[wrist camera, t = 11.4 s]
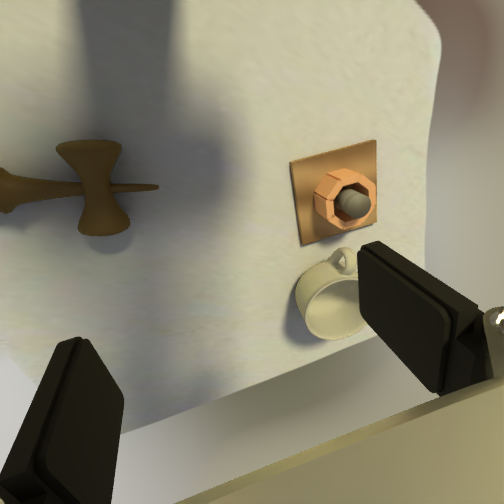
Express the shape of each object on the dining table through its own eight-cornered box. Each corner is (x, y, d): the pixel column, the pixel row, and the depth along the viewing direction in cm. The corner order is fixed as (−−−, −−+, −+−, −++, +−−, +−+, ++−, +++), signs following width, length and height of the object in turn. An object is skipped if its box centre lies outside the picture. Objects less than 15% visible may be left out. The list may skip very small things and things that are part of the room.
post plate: (289, 161, 40) (310, 171, 34) (372, 139, 41) (405, 145, 36) (300, 242, 46) (319, 262, 40) (373, 220, 47) (401, 236, 42)
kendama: (-53, 135, 31) (156, 138, 35) (-18, 225, 35) (163, 217, 39) (-99, 145, 26) (153, 146, 30) (-51, 248, 30) (162, 237, 34)
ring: (311, 177, 41) (324, 183, 38) (359, 163, 42) (375, 169, 39) (317, 224, 44) (328, 234, 41) (361, 211, 45) (375, 219, 42)
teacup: (335, 312, 54) (360, 343, 47) (278, 307, 50) (297, 341, 43) (366, 239, 48) (399, 262, 41) (305, 228, 45) (331, 252, 38)
